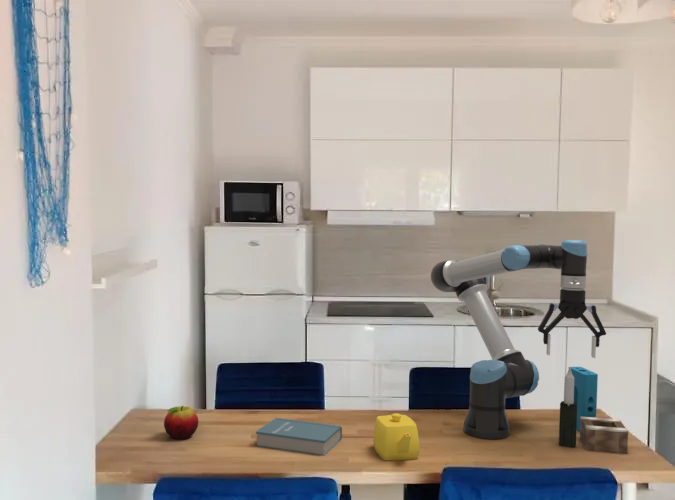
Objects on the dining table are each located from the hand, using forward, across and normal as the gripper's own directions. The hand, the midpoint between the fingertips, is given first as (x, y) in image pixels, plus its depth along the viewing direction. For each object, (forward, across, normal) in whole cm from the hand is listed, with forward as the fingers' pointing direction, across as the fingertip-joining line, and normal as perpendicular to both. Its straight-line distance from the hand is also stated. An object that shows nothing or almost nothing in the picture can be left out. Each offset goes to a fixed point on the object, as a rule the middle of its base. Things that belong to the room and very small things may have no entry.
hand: (570, 355), depth 206 cm
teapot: (+29, -52, -22) cm, 63 cm away
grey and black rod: (+29, 0, 0) cm, 29 cm away
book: (+29, -83, -19) cm, 90 cm away
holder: (+28, +11, +2) cm, 30 cm away
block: (+29, +7, +19) cm, 35 cm away
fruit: (+29, -121, -23) cm, 127 cm away
